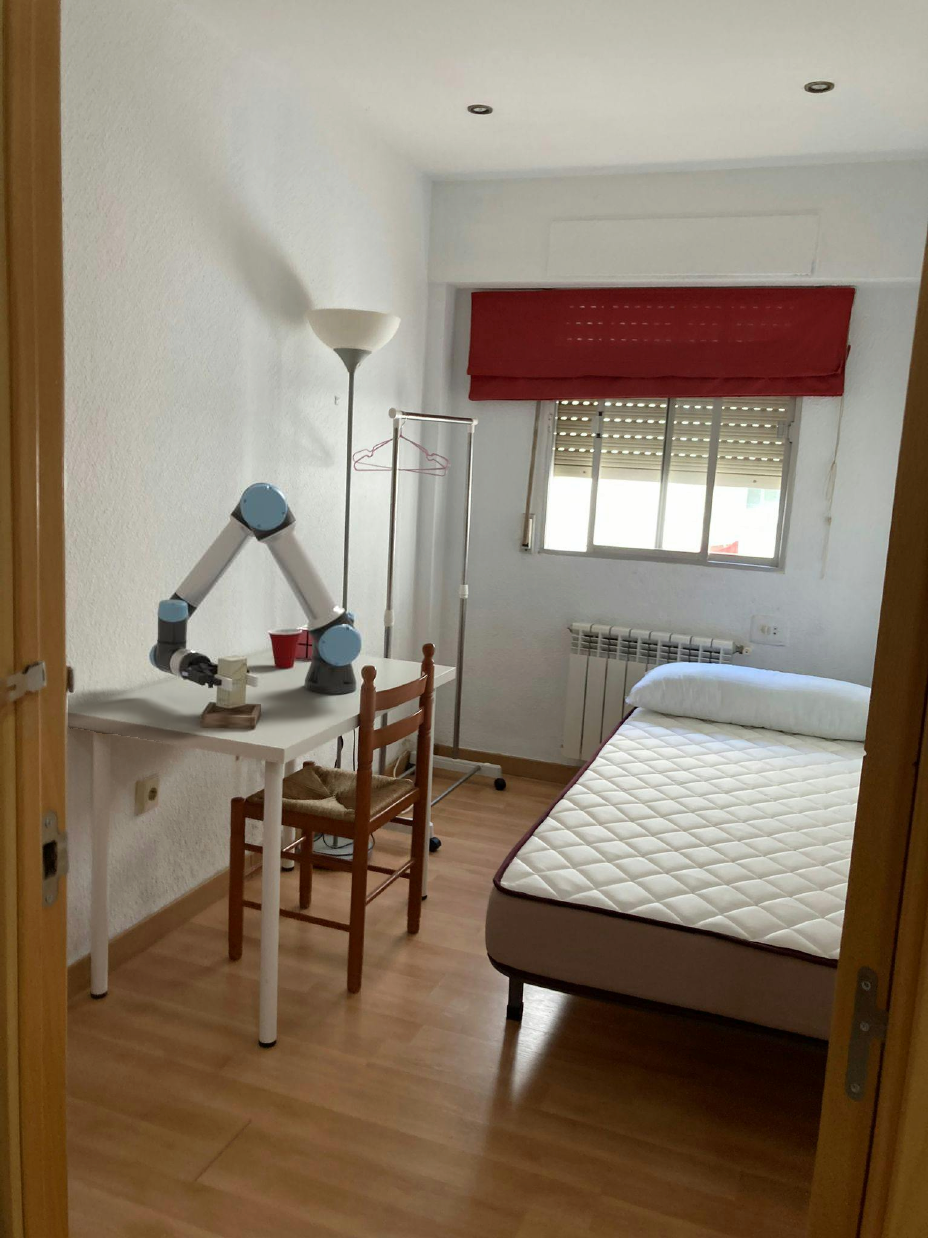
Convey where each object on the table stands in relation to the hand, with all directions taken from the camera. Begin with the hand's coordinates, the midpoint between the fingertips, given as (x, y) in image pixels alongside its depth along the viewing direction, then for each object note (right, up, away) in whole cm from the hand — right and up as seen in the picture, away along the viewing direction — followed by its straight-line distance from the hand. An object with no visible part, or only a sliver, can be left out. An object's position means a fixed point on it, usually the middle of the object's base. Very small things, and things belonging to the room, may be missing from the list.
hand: (243, 683), depth 232 cm
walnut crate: (-4, -10, +5) cm, 12 cm away
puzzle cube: (+2, +3, +90) cm, 90 cm away
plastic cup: (-4, 0, +72) cm, 72 cm away
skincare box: (-4, -6, +4) cm, 8 cm away
